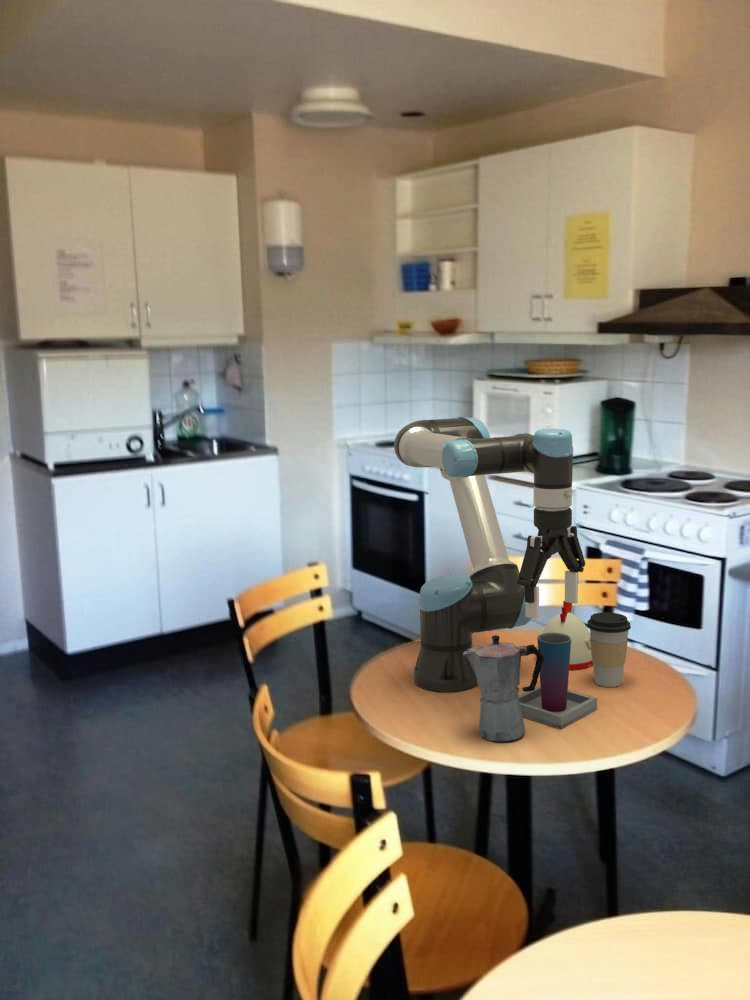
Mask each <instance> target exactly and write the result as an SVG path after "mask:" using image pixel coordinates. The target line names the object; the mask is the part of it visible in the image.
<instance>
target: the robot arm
mask: <svg viewBox="0 0 750 1000" xmlns="http://www.w3.org/2000/svg"><path fill="white" fill-rule="evenodd" d="M572 434H573V433H572V432H571V431H569V430H567V429H563V428H562V429H561V428H543V429H542V428H541V429H537V430H536V431H535V432H534V434H531V433H526V432H524V433H519V432H518V433H513V434H512V435H510V436H497V437H494V436H493V437H491V435H490V432H489V430H488V428H487V426H486V425H485V424H484V422H483V421H482V420H480V419H479V418H477V417H466V416H458V417H456V418H454V417H453V418H437V419H436V418H435V419H421V420H420V419H419V420H416V421H413V422H410V423H408V424H407V425H404V426H403V427H402V428H401V429H400V430H399V431H398V432H397V434H396V436H395V439H394V444H393V448H394V449H393V450H394V453H395V456H396V458H397V459H398V460H399V462H401V463H403V464H404V465H405V466H408V467H413V468H436V469H439V471H440V474H441V477H442V478H443V479H445V480H447V481H449V484H450V488H451V492H452V495H453V499H454V503H455V506H456V510H457V514H458V517H459V521H460V525H461V529H462V532H463V535H464V540H465V543H466V547H467V551H468V554H469V558H470V563H471V567H472V571H471V573H470V574H469V576H468V575H464V574H455V575H453V574H448V575H443V576H438V577H434V578H432V579H430V580H428V581H426V582H425V583H424V584H423V585H422V586H421V588H420V591H419V603H418V608H419V618H420V619H419V621H420V622H419V625H420V628H419V630H420V649H419V652H418V655H417V659H416V663H415V666H414V669H413V681H414V683H415V685H417V686H418V687H420V688H423V689H425V690H429V691H433V692H434V691H435V692H445V693H448V692H459V691H466V690H469V689H472V688H474V687H476V686H478V683H477V678H476V673H475V672H474V670H473V668H472V666H471V664H470V662H469V661H468V659H467V657H466V656H465V655H463V653H464V652H465V651H467V650H468V649H471V648H474V647H473V634H476V633H482V632H483V633H484V632H490V631H497V630H506V629H509V630H510V629H511V630H513V629H514V628H517V627H522V626H525V625H527V624H528V623H530V621H531V620H532V619H533V620H538V619H539V618H540V587H539V586H537V585H538V582H539V580H540V578H541V577H542V574H543V571H544V569H545V567H546V565H547V562H548V560H549V559H551V557H552V555H555V554H557V553H558V555H559V557H560V559H561V560H562V562H563V564H564V565H565V567H566V569H567V570H565V571H564V601H565V602H569V603H572V604H574V605H577V604H578V603H579V599H578V598H579V573H583V572H584V567H585V566H586V560H585V557H584V553H583V550H582V547H581V543H580V540H579V538H578V527H577V526H575V525H573V510H572V508H571V506H572V505H573V470H574V469H573V467H574V465H573V464H574V463H573V462H574V460H573V459H574V446H573V435H572ZM525 472H526V473H531V474H533V500H532V501H533V503H532V505H533V506H535V508H534V509H533V526H534V527H535V528H536V529H537V531H538V533H537V535H536V536H535V535H528V536H527V539H526V540H527V541H526V548H525V553H524V557H523V560H522V562H521V563H522V564H521V567H520V570H519V567H518V564H517V563H515V562H513V561H511V560H510V559H509V556H508V555H509V554H508V552H507V548H506V545H505V542H504V541H505V540H504V538H503V535H502V534H503V533H502V531H501V528H500V524H499V520H498V516H497V513H496V510H495V507H494V503H493V499H492V496H491V493H490V489H489V485H488V481H487V478H486V476H487V475H498V474H500V475H501V474H512V473H513V474H514V473H525Z"/></svg>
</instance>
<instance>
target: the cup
mask: <svg viewBox="0 0 750 1000" xmlns="http://www.w3.org/2000/svg"><path fill="white" fill-rule="evenodd" d="M536 638H537V639H536V640H537V646H538V650H539V651H540V653H542V654H543V656H544V661H543V663H542V666H541V670H540V672H539V683H540V685H539V686H541V702H542V708H543V709H544V710H547V711H550V712H561V711H564V710H565V709H566V707H567V693H568V690H569V689H568V688H569V679H570V677H569V675H570V671H569V664H570V650H571V637H570V636H568V635H566V634H562V633H544V634H541V635H539V634H538V635H537V637H536Z"/></svg>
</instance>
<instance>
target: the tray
mask: <svg viewBox="0 0 750 1000" xmlns="http://www.w3.org/2000/svg"><path fill="white" fill-rule="evenodd" d="M518 697H519V702H520V706H521V712H522V716H523V718H526V719H528V720H531V721H534V722H538V723H541V724H543V725H546V726H549V727H553V728H555V729H559V730H563V729H565V728H566V727H568V726H570V725H572V724H573V723H575V722H577V721H579V720H581V719H583V718H584V717H586V716H588V715H590V714H592V713H593V712H595V711H597V710H598V698H597V697H593V696H591V695H587V694H584V693H580V692H577V691H574V690H571V689H568V693H567V707H566V709H565V710H564V711H561V712H550V711H547V710H544V709H543V708H542V702H541V686H540V685H538V686H535V690H534V691H527V692H522V693H521V694H518Z"/></svg>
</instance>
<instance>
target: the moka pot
mask: <svg viewBox="0 0 750 1000" xmlns="http://www.w3.org/2000/svg"><path fill="white" fill-rule="evenodd" d="M491 640H492V642H488V643H482V644H478V645H476V646H475V647H473V648H471V649H468V650H467V651H465V652H464V653H463V655H465V656H466V657H467V659H468V661H469V662H470V664H471V666H472V668H473V670H474V672H475V673H476V678H477V683H478V685H477V686H478V688H479V689H480V696H481V697H480V699H479V702H480V713H479V726H478V727H479V728H478V730H479V731H478V733H479V735H480V736H481V737H482V738H483V739H484V740H487V741H492V742H499V743H500V742H501V743H502V742H510V741H514V740H517V739H520V738H522V737H523V736H524V734H525V732H526V727H525V721H524V717H523V716H522V712H521V706H520V702H519V697H518V696H519V691H520V687H519V685H520V681H521V679H520V677H521V661H522V657H527V656H530V655H535V656H537V660H536V659H535V664H534V667H533V668H534V669H533V672H532V679H531V681H530V684H529V686H523V687H522V688H521V690H522V693H525V692H527V691H534V690H535V688H536V687H537V683H538V679H539V678H540V670H541V666H542V663H543V661H544V656H543V654H542V653H540V651H539V650H537V646H535V644H529V645H516V644H515V643H511V642H500V636H499V635H498V634H497V635H496V634H495V635H492V636H491Z"/></svg>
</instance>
